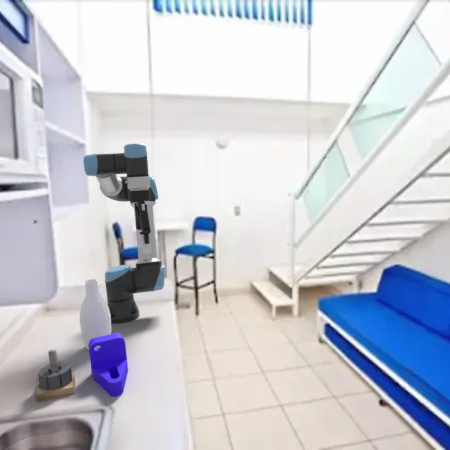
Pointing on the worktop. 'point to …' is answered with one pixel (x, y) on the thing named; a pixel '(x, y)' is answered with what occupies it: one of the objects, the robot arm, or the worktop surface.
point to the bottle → (94, 314)
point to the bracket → (109, 363)
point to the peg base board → (62, 391)
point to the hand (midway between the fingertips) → (144, 250)
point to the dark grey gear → (55, 376)
